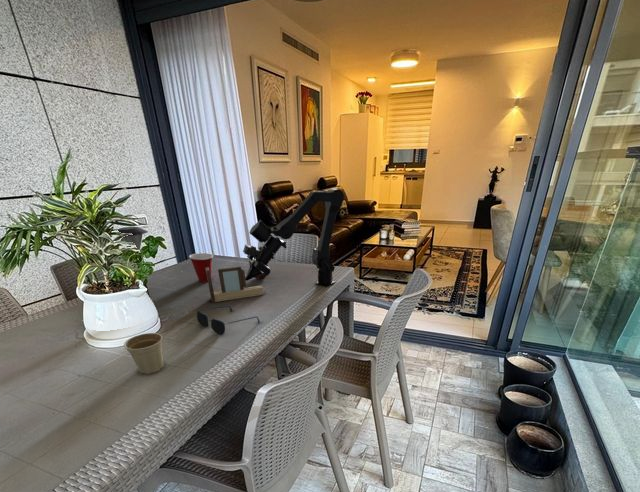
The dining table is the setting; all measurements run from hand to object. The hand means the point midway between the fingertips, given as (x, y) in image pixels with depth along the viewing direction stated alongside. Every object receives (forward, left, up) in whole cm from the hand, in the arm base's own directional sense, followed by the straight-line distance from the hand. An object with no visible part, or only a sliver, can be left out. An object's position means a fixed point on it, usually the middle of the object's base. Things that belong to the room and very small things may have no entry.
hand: (245, 279), depth 145 cm
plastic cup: (-3, -33, -7) cm, 34 cm away
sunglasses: (+23, +17, -7) cm, 30 cm away
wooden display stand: (+3, -2, -7) cm, 7 cm away
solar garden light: (+31, -22, -7) cm, 39 cm away
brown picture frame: (+5, -3, -5) cm, 7 cm away
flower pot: (+55, +24, -7) cm, 61 cm away
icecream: (-19, -12, -7) cm, 23 cm away
